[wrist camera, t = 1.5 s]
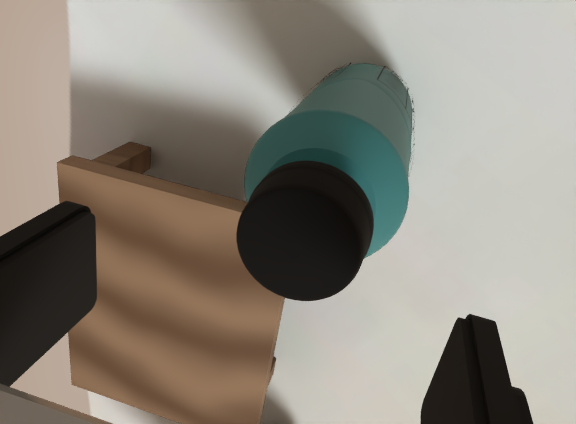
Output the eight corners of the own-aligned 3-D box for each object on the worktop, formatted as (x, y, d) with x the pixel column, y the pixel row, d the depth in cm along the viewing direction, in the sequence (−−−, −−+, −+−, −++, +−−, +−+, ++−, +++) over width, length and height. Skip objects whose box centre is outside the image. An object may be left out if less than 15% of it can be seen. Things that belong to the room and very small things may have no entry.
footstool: (122, 132, 37) (56, 162, 30) (319, 182, 34) (294, 227, 27) (122, 328, 46) (71, 384, 39) (278, 379, 43) (252, 449, 36)
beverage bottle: (308, 67, 31) (157, 158, 13) (411, 46, 29) (393, 122, 11) (326, 161, 33) (217, 343, 16) (423, 148, 31) (423, 342, 14)
